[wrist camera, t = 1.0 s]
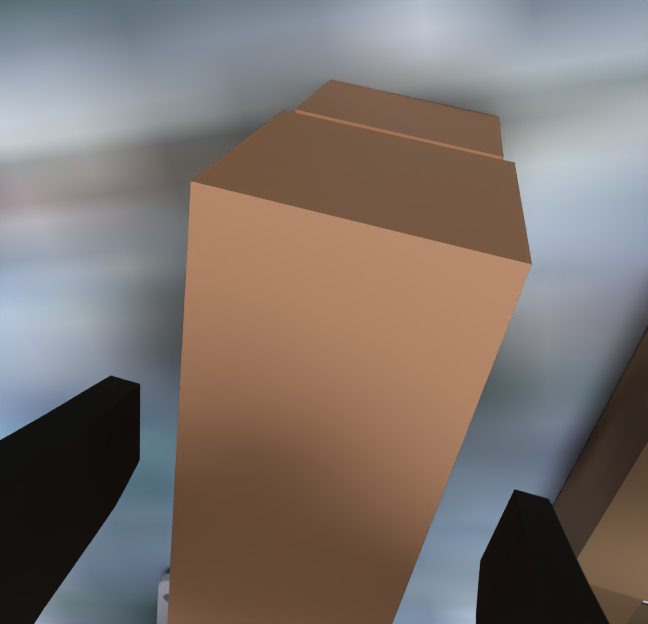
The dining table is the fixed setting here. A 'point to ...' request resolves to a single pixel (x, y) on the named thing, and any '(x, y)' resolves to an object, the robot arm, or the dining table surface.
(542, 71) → the dining table surface
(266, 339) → the tan stepped block
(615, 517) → the brown flat slab
